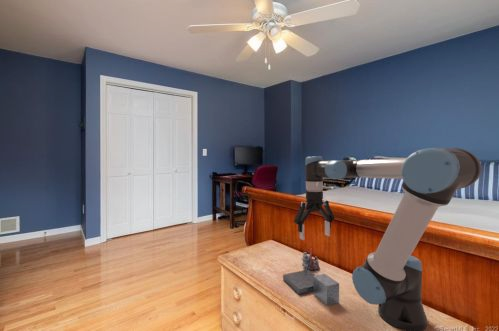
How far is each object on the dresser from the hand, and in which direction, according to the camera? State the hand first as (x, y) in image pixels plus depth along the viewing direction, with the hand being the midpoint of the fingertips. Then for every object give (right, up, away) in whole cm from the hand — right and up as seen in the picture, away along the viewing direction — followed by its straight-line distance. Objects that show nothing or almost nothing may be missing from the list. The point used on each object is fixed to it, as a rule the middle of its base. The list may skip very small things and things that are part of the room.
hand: (314, 237), depth 110 cm
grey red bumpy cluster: (+3, -22, +19) cm, 29 cm away
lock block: (+2, -23, -9) cm, 25 cm away
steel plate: (-4, -22, +2) cm, 23 cm away
